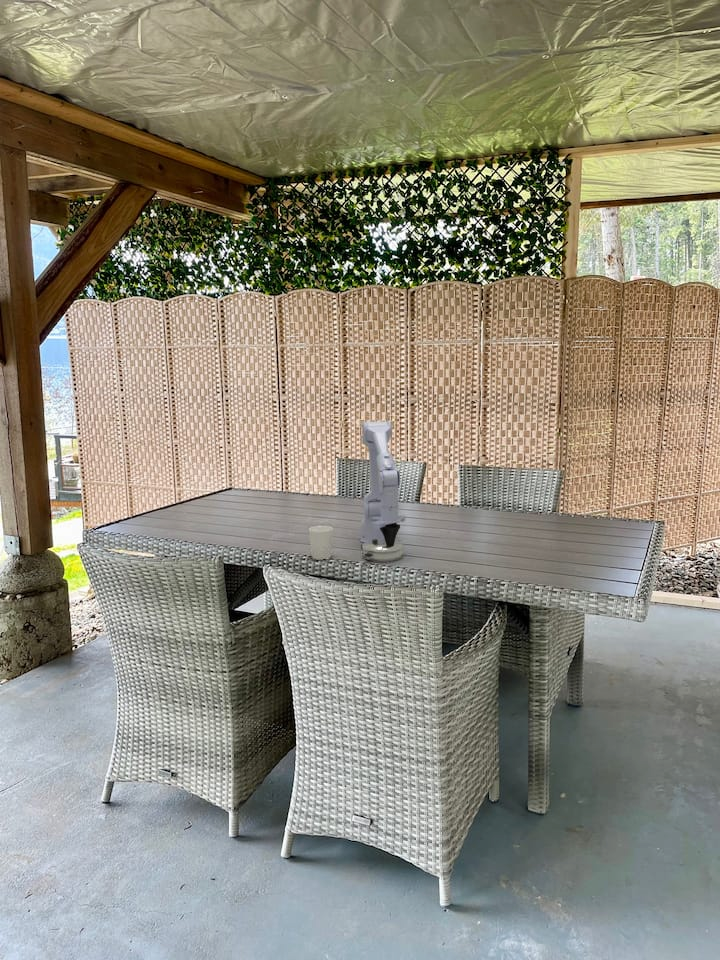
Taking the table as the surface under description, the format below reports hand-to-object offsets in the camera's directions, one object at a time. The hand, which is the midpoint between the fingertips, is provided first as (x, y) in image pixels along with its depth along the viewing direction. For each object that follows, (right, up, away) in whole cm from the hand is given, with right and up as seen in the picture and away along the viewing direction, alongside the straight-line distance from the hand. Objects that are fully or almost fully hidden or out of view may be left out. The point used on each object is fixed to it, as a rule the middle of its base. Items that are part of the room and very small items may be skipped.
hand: (390, 546), depth 229 cm
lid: (-2, -1, +2) cm, 3 cm away
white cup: (-23, -4, +4) cm, 24 cm away
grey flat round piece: (-2, -4, +3) cm, 5 cm away
